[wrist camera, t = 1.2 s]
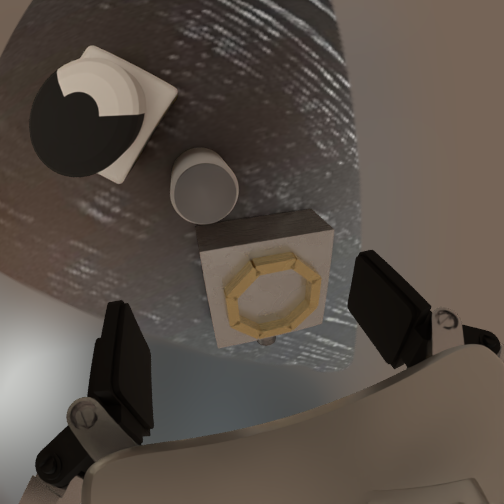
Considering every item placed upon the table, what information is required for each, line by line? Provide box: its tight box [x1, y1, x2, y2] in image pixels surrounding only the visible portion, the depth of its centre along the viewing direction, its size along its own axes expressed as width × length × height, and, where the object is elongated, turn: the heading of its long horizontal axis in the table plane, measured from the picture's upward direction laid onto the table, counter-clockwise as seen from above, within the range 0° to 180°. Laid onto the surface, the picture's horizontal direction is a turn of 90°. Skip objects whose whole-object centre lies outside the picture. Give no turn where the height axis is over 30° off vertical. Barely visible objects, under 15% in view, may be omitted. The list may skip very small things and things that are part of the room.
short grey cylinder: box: [170, 147, 239, 224], centre depth 22 cm, size 5×5×6 cm
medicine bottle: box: [29, 46, 178, 184], centre depth 14 cm, size 7×7×12 cm
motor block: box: [195, 209, 334, 348], centre depth 29 cm, size 15×12×6 cm
